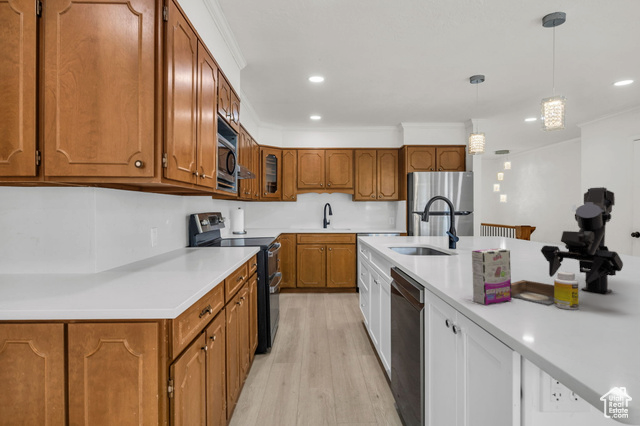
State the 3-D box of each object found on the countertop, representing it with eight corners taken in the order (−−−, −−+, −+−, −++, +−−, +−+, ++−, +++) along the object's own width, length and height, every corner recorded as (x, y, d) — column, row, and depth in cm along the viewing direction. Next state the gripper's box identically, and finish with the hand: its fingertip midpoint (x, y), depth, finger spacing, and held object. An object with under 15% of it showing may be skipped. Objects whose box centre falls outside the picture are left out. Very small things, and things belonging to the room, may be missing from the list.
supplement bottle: (574, 311, 86) (574, 275, 86) (551, 306, 90) (550, 272, 90) (581, 308, 89) (581, 273, 89) (558, 303, 94) (558, 270, 93)
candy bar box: (498, 297, 101) (497, 247, 101) (512, 301, 96) (511, 249, 96) (471, 301, 97) (471, 250, 97) (484, 305, 93) (484, 252, 93)
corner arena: (524, 291, 108) (524, 279, 108) (565, 299, 97) (565, 286, 97) (506, 296, 102) (506, 284, 102) (548, 305, 91) (548, 292, 91)
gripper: (543, 220, 100) (522, 256, 96) (617, 222, 83) (596, 266, 79) (557, 243, 104) (538, 279, 99) (631, 249, 87) (612, 292, 82)
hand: (567, 278), depth 90 cm, fingers open, 9 cm apart
